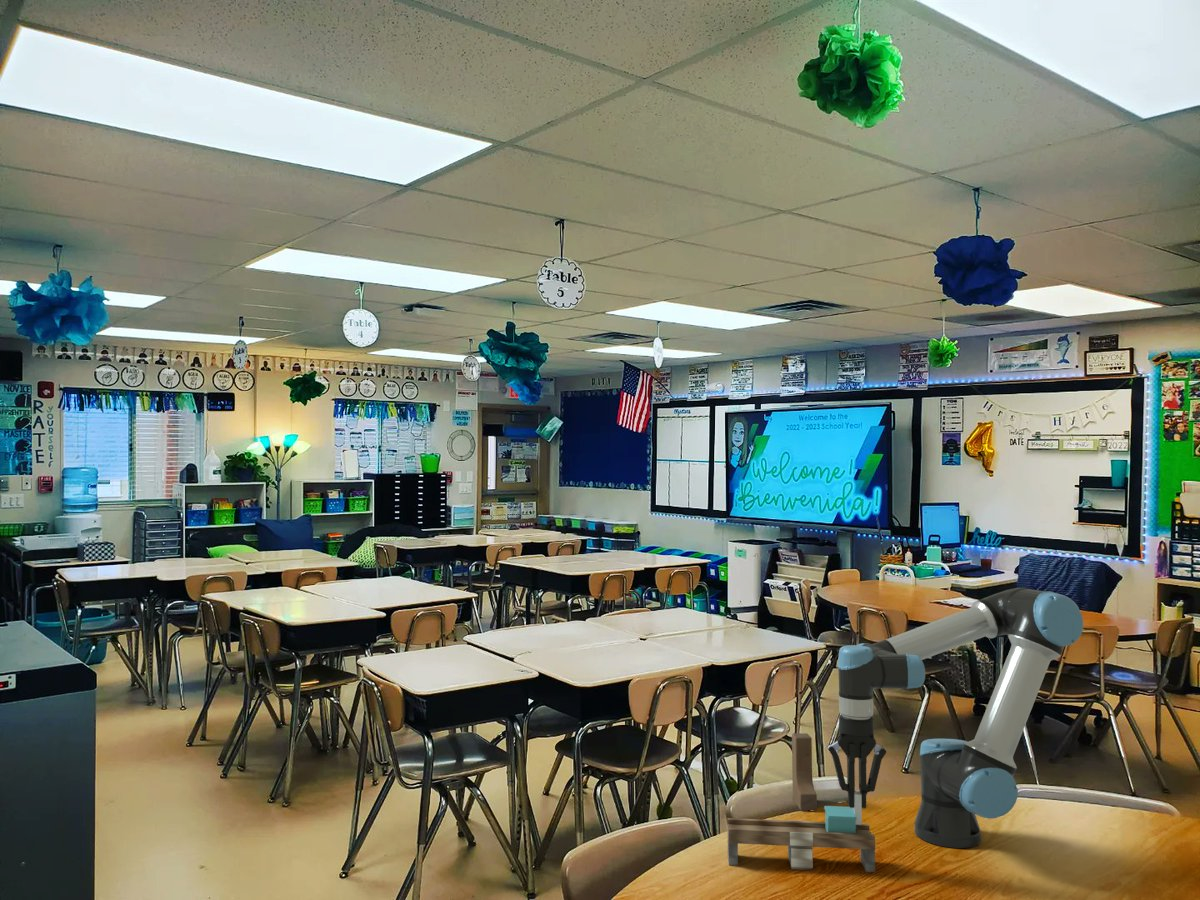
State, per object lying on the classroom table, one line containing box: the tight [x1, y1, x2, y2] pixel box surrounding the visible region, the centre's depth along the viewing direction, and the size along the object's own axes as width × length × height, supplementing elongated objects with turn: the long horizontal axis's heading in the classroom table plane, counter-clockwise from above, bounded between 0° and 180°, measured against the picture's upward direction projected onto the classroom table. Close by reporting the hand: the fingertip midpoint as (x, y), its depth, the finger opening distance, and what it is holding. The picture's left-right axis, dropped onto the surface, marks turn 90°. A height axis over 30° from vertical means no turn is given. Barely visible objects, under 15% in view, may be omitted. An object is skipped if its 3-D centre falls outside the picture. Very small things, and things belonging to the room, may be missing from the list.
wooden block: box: [791, 732, 818, 812], centre depth 229 cm, size 9×4×18 cm, turn 0°
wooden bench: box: [726, 817, 876, 873], centre depth 192 cm, size 32×7×8 cm, turn 84°
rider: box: [823, 805, 857, 833], centre depth 191 cm, size 6×6×5 cm
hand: (857, 822), depth 191 cm, fingers closed
